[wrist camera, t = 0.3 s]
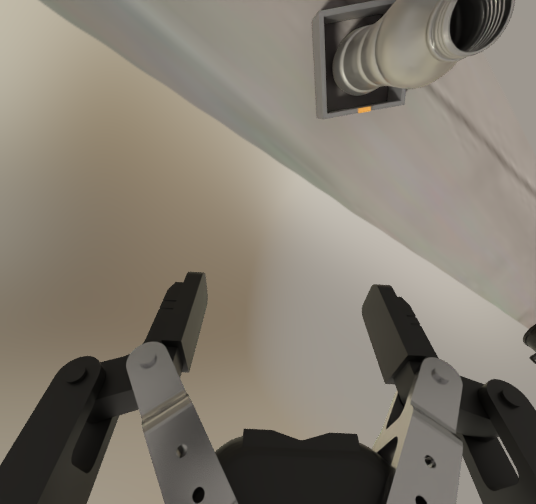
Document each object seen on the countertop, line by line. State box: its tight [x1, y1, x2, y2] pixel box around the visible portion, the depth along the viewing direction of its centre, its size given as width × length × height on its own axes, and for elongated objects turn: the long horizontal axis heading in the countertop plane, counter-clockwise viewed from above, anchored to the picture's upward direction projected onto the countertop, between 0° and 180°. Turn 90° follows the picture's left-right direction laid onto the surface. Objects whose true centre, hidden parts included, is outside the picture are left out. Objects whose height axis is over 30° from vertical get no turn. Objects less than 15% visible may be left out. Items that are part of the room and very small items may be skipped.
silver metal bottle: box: [332, 0, 515, 96], centre depth 23 cm, size 6×7×20 cm
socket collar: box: [312, 0, 406, 119], centre depth 30 cm, size 10×10×4 cm
